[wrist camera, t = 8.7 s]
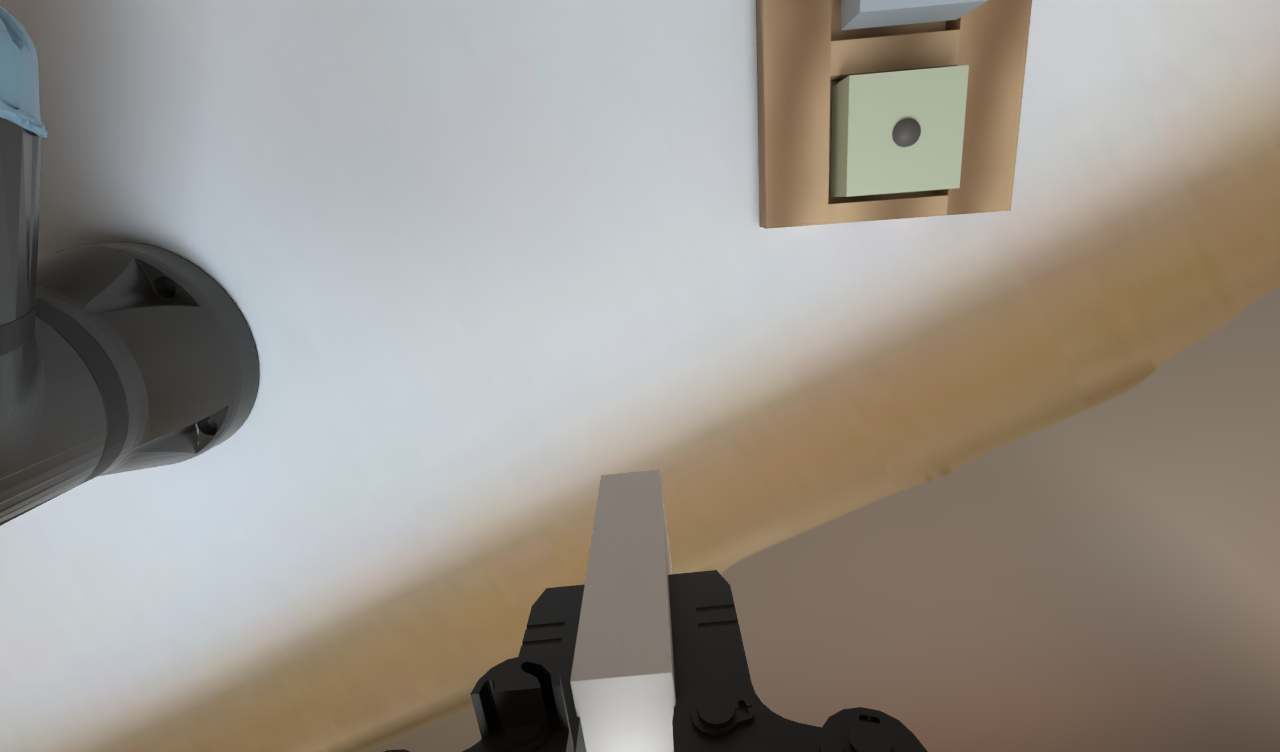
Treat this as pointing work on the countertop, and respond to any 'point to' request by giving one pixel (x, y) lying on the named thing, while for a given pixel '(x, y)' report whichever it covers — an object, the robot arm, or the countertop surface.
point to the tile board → (825, 55)
